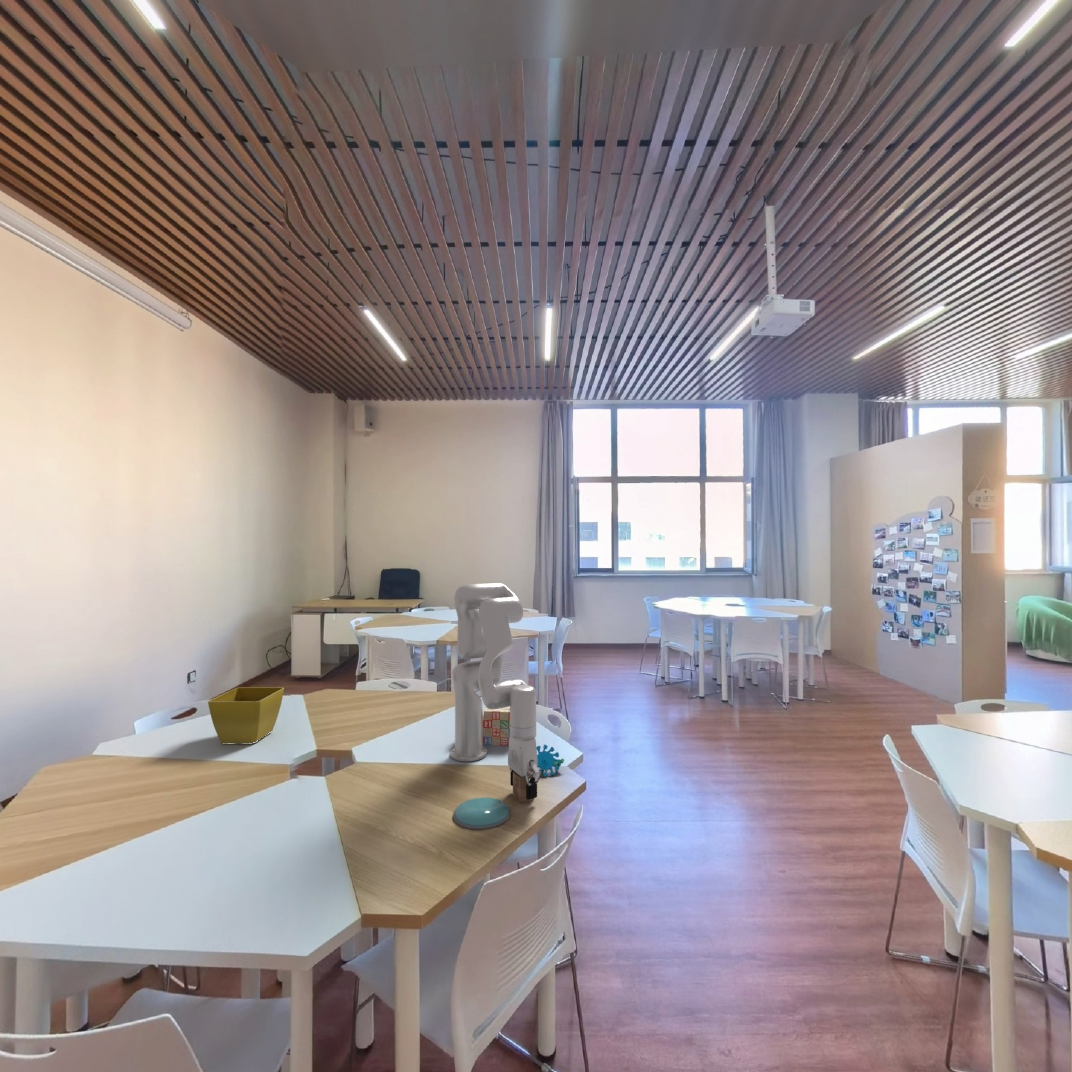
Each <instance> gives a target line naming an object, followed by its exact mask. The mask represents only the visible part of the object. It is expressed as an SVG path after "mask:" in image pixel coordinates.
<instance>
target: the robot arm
mask: <svg viewBox="0 0 1072 1072" xmlns="http://www.w3.org/2000/svg"><path fill="white" fill-rule="evenodd" d="M454 592H455V593H454V597H453V601H454V607H455V611H456V615H457V639H456V640H457V641H456V642H457V643H456V644H457V647H456V648H457V653H458V656H459V657H460V658H461V659H467V660H471V659H479V658H480V659H481V658H482V659H481V660H472V661H466V662H460V663H459V664H457V665H456V666H455V667H453V669H452V671H451V679H452V680H451V681H452V685H453V693H454V748H452V750H450V753H449V754H450V758H451V759H453V760H456V761H458V762H475V761H478V760H482V759H484V758H485V757H486V756H487V755H488V750H487V748H486V747H485V746H484V745H483V714H484V707H483V706H485V708H486V707H487V708H488V709H500V708H505V707H510V737H509V746H507V747H508V749H507V750H508V752H507V753H508V754H507V764H508V765H507V766H508V767H509V770H510V778H509V780H510V781H509V782H510V786H512V787H513V772H514V771H515V772H516V773H517V774H519V775H520V776H521V777H524V776H525V777H526V781H527V785H526V799H527V800H529V799H533V798H534V799H536V798H538V783H539V781H540V775H541V772H539V770H540V769H539V767H537V755H538V751H537V741H536V737H537V690H536V688H535V687H534V686H531V685H529V684H528V683H526V682H525V681H524V680H522V679H519V678H516V679H509V680H507V679H506V680H502V676H503V654H504V653H507V652H508V651H510V650H511V649H512V648H513V646H514V640H513V637H512V633H511V632H512V631H511V627H510V624H516V623H519V622H521V621H522V619H523V618H524V617H523V616H524V608H523V605H522V602H521V600H520V598H519V597H518V596H517V595H516V594H515V593H514V592H513V591H512V590H511V589H510V588H509V587H508V586H507V585H505V584H504V583H501V582H489V583H488V582H487V583H484V582H483V583H482V582H481V583H469V584H468V583H467V584H462V585H460V586H459V587H457V589H456V591H454ZM477 690H479V692H480V696H479V694H478V693H477ZM528 771H531V772H529V773H528ZM531 775H532V776H533V777H532V778H531V779H530V778H529V776H531ZM534 799H533V800H534Z"/></svg>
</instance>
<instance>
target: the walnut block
mask: <svg viewBox="0 0 1072 1072" xmlns="http://www.w3.org/2000/svg"><path fill="white" fill-rule="evenodd" d="M529 772H531V771H528V773H529ZM532 777H533V776H532V775H531V776H529V778H530V779H531V778H532ZM526 785H527V781H526V777H525V776H524V777H521V776H520V775H519V774H517V773H516V772H515V771H514V772H513V786H512V797H513V798H514V799H515V800H516V801H517V802H518V803H520V804H522V803H526V802H529V801H533V800H535V798H533V799H529V800H527V799H526Z"/></svg>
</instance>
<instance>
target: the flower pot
mask: <svg viewBox="0 0 1072 1072" xmlns="http://www.w3.org/2000/svg"><path fill="white" fill-rule="evenodd" d="M284 690H285V688H284V687H278V686H277V687H270V686H269V687H266V686H264V687H263V686H262V687H261V686H257V687H256V686H253V687H252V686H249V687H247V686H246V687H245V686H244V687H243V686H241V687H239V686H238V687H236V688H234V689H231V690H229V691H227V692H224V693H222V694H220V695H218V696H216V697H214V698H212V699H210V700H207V703H208V709H209V714H210V717H211V718H210V719H211V721H212V724H213V727H214V729H215V732H216V735H217V737H218V739H219V741H220V743H221V744H222V743H253V742H256V741H257V740H259V739H261V738H262V737H264V736H265V735H267V734H268V733H269V732H271V731H272V732H273V731H274V728H275V726H276V724H277V719H278V717H279V713H280V709H281V707H282V702H283V697H284V692H285V691H284ZM267 736H268V735H267ZM264 738H265V737H264Z"/></svg>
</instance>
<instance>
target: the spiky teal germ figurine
mask: <svg viewBox="0 0 1072 1072" xmlns="http://www.w3.org/2000/svg"><path fill="white" fill-rule="evenodd" d="M548 746H549V745H547V744H543V746H541V745H538V746H537V745H536V747H537V768H538V770H539V772H540V773H541V772H542V771H544V772H542V777H544V778H547V776H548V770H550V772H549V776H550V777H551V776H555V772H558V771H559V770H560V767H561V765H562V764H564V762H565V758H561V759H559V757H560V753H559V752H558V751H557V752H555V753H554V751H555V748H554V747H553V746H551V747H550V749H549V750H547V749H548ZM542 747H543V748H542ZM541 748H542V749H543V750H542V751H541ZM552 752H553V753H552ZM553 768H554V770H553Z"/></svg>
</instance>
